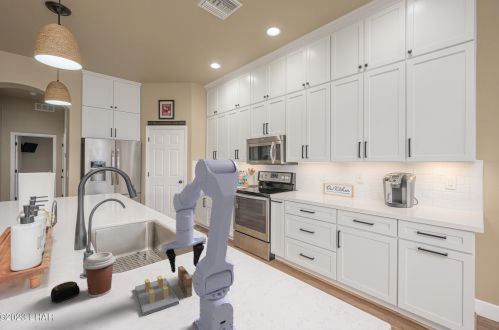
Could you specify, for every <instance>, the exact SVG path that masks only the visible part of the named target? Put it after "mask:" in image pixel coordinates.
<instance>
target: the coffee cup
mask: <svg viewBox="0 0 499 330" xmlns="http://www.w3.org/2000/svg"><path fill="white" fill-rule="evenodd" d="M116 259H117V258H116V256H114V255H113V253H112V252H110V251H100V252H95V253H93V254H90V255H88V257H87V258H86V260H85V261H84V262H83V264H82V268H84V269H85V276H86V285H87V295H88V297H90V298H97V297H98V298H99V297H102V296H105V295H107V294H108V293H110V292H111V291H112V281H113V272H114V270H113V269H114V263H115V262H116Z"/></svg>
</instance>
